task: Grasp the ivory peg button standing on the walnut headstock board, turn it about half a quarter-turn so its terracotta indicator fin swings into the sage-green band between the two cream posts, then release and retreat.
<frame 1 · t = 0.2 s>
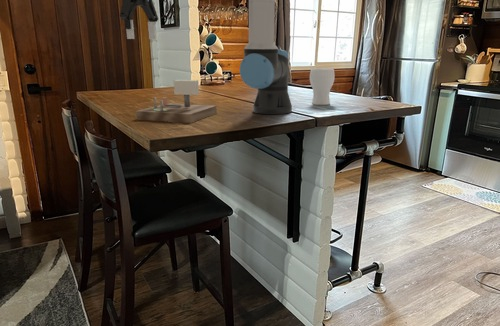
hand: (142, 39, 147), 28 cm above the table, fingers open, 13 cm apart
headstock board: (178, 116, 142), on the table
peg: (179, 93, 142), point 8 cm above the table, hinge at 0.0°
cup: (320, 104, 169), on the table
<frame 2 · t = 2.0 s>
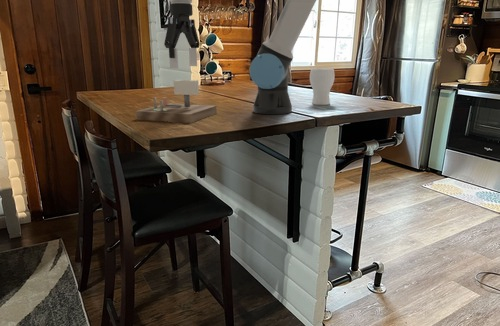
hand: (184, 67, 138), 18 cm above the table, fingers open, 13 cm apart
nothing on the table moved.
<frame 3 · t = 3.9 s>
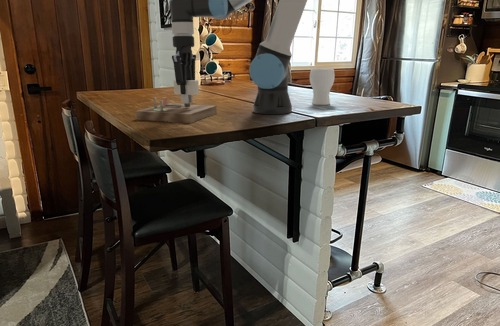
hand: (187, 102, 142), 5 cm above the table, fingers closed on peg, 2 cm apart
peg: (179, 93, 142), point 8 cm above the table, hinge at 0.0°, touching gripper
everything else where it was.
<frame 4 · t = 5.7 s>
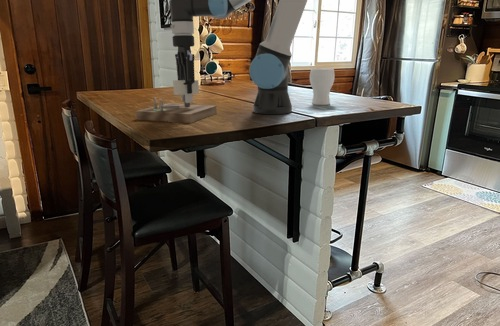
hand: (187, 101, 142), 5 cm above the table, fingers closed on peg, 3 cm apart
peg: (178, 94, 140), point 8 cm above the table, hinge at 29.7°, touching gripper
everything else where it was.
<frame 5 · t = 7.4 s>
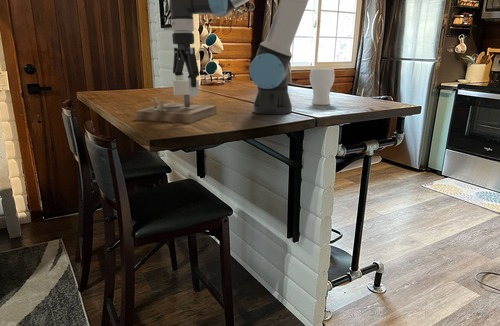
hand: (186, 94, 141), 8 cm above the table, fingers open, 12 cm apart
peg: (179, 94, 140), point 8 cm above the table, hinge at 44.4°
everything else where it was.
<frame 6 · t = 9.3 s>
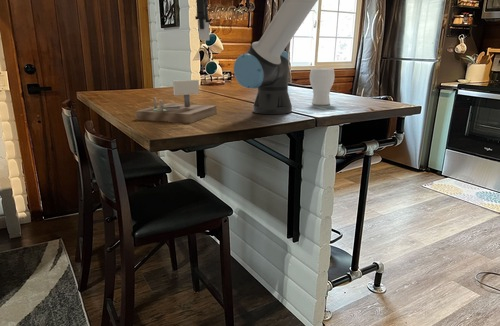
hand: (204, 40, 142), 27 cm above the table, fingers open, 13 cm apart
nothing on the table moved.
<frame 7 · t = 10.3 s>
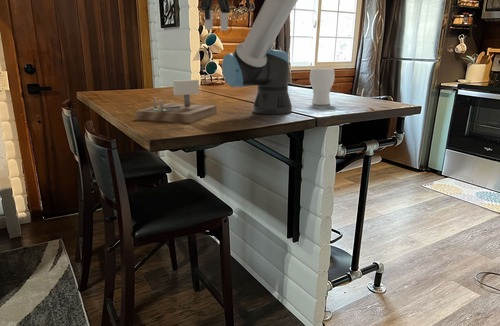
hand: (216, 30, 148), 31 cm above the table, fingers open, 13 cm apart
nothing on the table moved.
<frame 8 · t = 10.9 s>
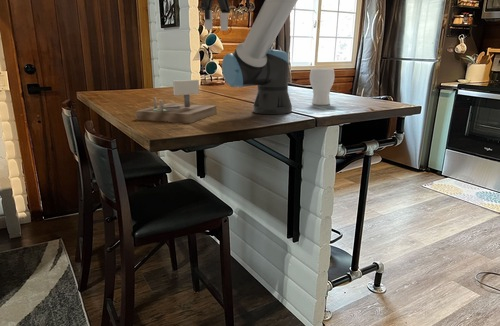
hand: (216, 30, 148), 31 cm above the table, fingers open, 13 cm apart
nothing on the table moved.
at the end: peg at +45° (first picture: +0°); the gripper is holding nothing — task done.
